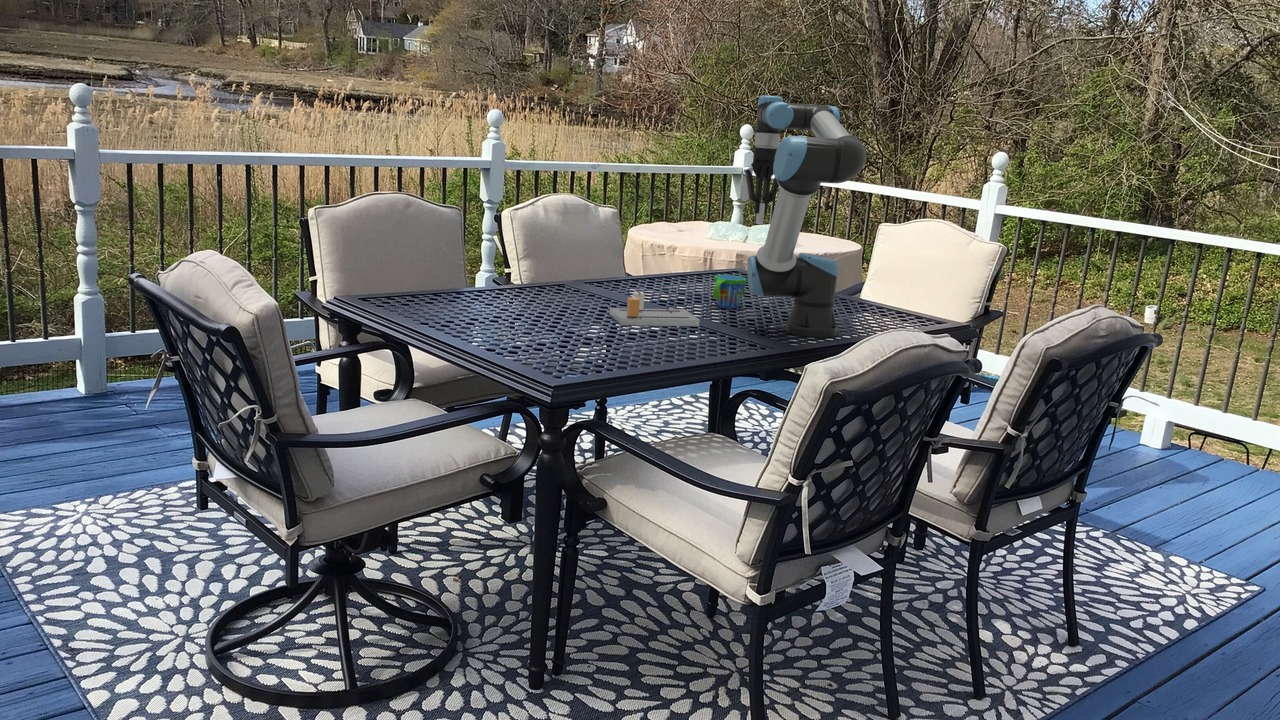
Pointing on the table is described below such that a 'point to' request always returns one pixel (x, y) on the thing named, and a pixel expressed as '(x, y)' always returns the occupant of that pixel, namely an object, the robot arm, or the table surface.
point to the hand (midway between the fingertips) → (759, 223)
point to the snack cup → (729, 290)
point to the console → (655, 317)
